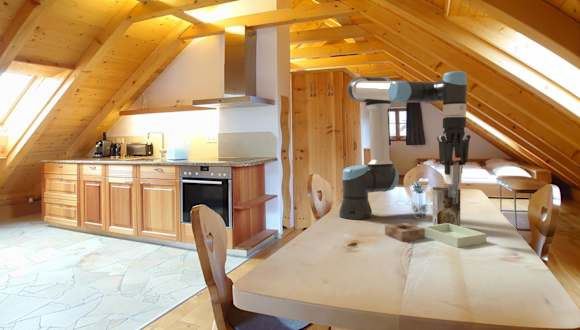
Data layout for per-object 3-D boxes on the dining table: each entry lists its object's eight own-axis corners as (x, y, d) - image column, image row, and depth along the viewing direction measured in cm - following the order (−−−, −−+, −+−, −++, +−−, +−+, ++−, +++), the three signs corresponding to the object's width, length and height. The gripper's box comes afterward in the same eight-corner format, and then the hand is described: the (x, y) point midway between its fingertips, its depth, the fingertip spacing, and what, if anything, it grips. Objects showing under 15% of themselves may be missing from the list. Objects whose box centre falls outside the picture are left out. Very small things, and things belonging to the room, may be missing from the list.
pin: (443, 196, 130) (444, 157, 129) (453, 195, 132) (453, 156, 131) (453, 198, 126) (454, 158, 125) (462, 197, 128) (463, 157, 127)
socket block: (384, 234, 137) (384, 225, 137) (406, 231, 141) (406, 222, 140) (402, 241, 128) (402, 232, 128) (424, 238, 132) (424, 228, 131)
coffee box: (454, 225, 148) (455, 186, 147) (460, 229, 142) (461, 189, 141) (431, 225, 149) (432, 186, 148) (436, 229, 143) (437, 189, 141)
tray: (421, 234, 136) (421, 226, 136) (447, 230, 141) (448, 222, 140) (457, 247, 120) (457, 238, 120) (485, 242, 125) (486, 233, 125)
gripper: (444, 116, 120) (443, 186, 122) (480, 116, 126) (479, 183, 128) (428, 117, 127) (427, 183, 129) (463, 117, 133) (462, 180, 135)
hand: (453, 183), depth 129 cm, fingers closed on pin, 3 cm apart
